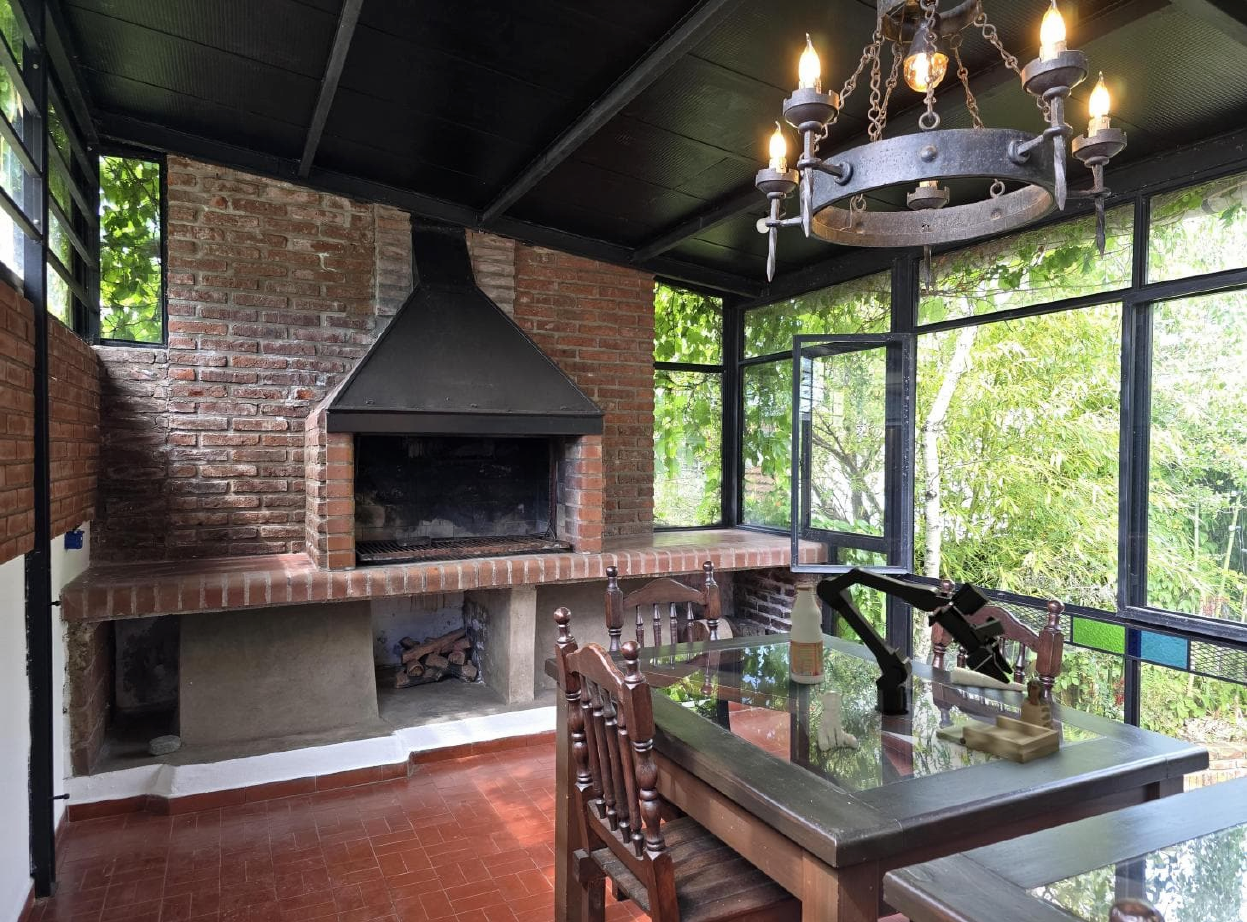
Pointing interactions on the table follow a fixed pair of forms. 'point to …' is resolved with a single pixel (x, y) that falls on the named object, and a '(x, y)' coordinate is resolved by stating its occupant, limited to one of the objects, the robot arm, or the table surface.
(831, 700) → the beige lumpy upright piece
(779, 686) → the table surface
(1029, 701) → the figurine
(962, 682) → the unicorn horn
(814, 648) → the fruit juice
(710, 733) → the table surface
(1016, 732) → the shallow wooden tray
